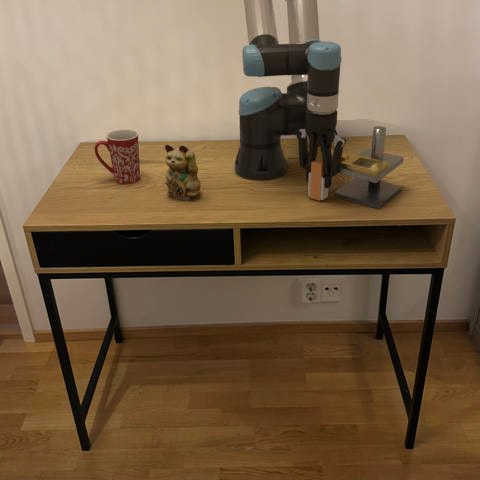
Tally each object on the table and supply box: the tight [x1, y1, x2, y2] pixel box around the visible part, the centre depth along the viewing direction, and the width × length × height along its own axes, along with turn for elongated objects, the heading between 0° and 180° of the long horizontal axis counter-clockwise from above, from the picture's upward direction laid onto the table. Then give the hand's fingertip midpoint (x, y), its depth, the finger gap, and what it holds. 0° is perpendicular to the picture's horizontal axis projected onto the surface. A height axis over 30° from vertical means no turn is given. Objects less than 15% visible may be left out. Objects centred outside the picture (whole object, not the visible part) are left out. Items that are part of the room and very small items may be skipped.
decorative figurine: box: [164, 143, 201, 201], centre depth 156 cm, size 10×8×15 cm
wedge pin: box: [309, 158, 324, 202], centre depth 152 cm, size 3×3×10 cm
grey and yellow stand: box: [331, 125, 405, 210], centre depth 154 cm, size 18×16×17 cm
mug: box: [94, 128, 141, 185], centre depth 166 cm, size 13×9×14 cm
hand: (317, 195), depth 155 cm, fingers closed on wedge pin, 3 cm apart
